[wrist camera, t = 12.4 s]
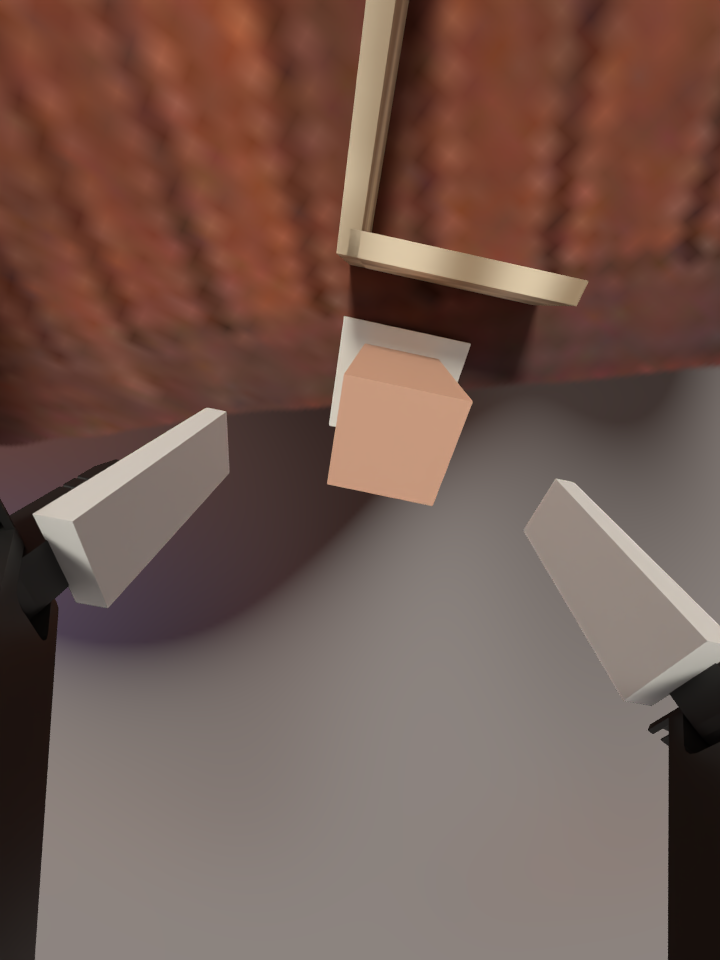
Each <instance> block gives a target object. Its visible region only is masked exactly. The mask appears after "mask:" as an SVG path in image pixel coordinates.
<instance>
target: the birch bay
mask: <svg viewBox="0 0 720 960" xmlns="http://www.w3.org/2000/svg"><path fill="white" fill-rule="evenodd" d="M408 4H409V0H366V6H365V14H364V23H363V32H362V40H361V49H360V57H359V66H358V74H357V83H356V91H355V100H354V108H353V117H352V125H351V134H350V142H349V151H348V160H347V168H346V177H345V185H344V194H343V202H342V211H341V219H340V228H339V236H338V245H337V254H338V255H339V256H340V257H342V258H343V259H344V260H345V261H346V262H347V263H348V264H350V265H354V266H358V267H363V268H367V269H372V270H376V271H381V272H385V273H390V274H394V275H399V276H403V277H408V278H413V279H417V280H422V281H426V282H431V283H435V284H440V285H444V286H449V287H453V288H458V289H462V290H467V291H472V292H476V293H481V294H485V295H490V296H494V297H499V298H503V299H508V300H512V301H517V302H522V303H526V304H531V305H549V306H577V304H578V302H579V300H580V297H581V295H582V293H583V291H584V289H585V287H586V285H587V283H588V281H586V280H582V279H577V278H573V277H568V276H564V275H559V274H555V273H550V272H546V271H541V270H537V269H532V268H528V267H523V266H519V265H514V264H510V263H505V262H501V261H496V260H492V259H487V258H483V257H478V256H474V255H469V254H465V253H460V252H456V251H451V250H447V249H442V248H438V247H433V246H429V245H424V244H420V243H415V242H411V241H406V240H402V239H397V238H393V237H388V236H384V235H379V234H375V233H372V227H373V221H374V215H375V209H376V202H377V196H378V190H379V184H380V178H381V171H382V165H383V159H384V153H385V147H386V140H387V134H388V128H389V122H390V116H391V109H392V103H393V97H394V91H395V85H396V78H397V72H398V66H399V60H400V54H401V47H402V41H403V35H404V29H405V23H406V17H407V10H408Z"/></svg>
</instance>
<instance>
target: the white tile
mask: <svg viewBox="0 0 720 960" xmlns="http://www.w3.org/2000/svg"><path fill="white" fill-rule="evenodd" d="M365 343H366V344H371V345H375V346H380V347H385V348H389V349H394V350H398V351H403V352H408V353H412V354H417V355H422V356H426V357H431V358H435V359H439V360H440V362H441V363H442V364H443V365H444V367H445V368H446V369H447V370H448V372H449V373H450V374H451V375H452V376H453V378H454V379H455V380H456V381H457V383H458V380H459V377H460V374H461V371H462V368H463V366H464V363H465V360H466V357H467V354H468V351H469V348H470V345H471V344H470V343H467V342H463V341H458V340H454V339H449V338H444V337H440V336H435V335H431V334H426V333H421V332H417V331H412V330H408V329H403V328H398V327H394V326H389V325H385V324H380V323H375V322H371V321H366V320H362V319H357V318H353V317H348V316H344V321H343V328H342V336H341V343H340V350H339V357H338V364H337V371H336V378H335V385H334V393H333V400H332V407H331V415H330V422H329V426H334V427H336V423H337V416H338V410H339V403H340V397H341V390H342V384H343V377H344V373H345V372H346V370H347V369H348V367H349V366H350V364H351V363H352V362H353V360H354V359H355V357H356V356H357V354H358V353H359V351H360V350H361V348H362V347H363V345H364V344H365Z"/></svg>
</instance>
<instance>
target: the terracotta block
mask: <svg viewBox="0 0 720 960" xmlns="http://www.w3.org/2000/svg"><path fill="white" fill-rule="evenodd" d="M472 403H473V401H472V400H471V399H470V398H469V396H468V395H467V394H466V393H465V391H464V390H463V389H462V388H461V386H460V385H459V384H458V383H457V381H456V380H455V379H454V378H453V376H452V375H451V374H450V373H449V372H448V370H447V369H446V368H445V367H444V365H443V364H442V363H441V362H440V360H439V359H435V358H431V357H426V356H422V355H417V354H412V353H408V352H403V351H398V350H394V349H389V348H385V347H380V346H375V345H371V344H366V343H365V344H364V345H363V347H362V348H361V350H360V351H359V353H358V354H357V356H356V357H355V359H354V360H353V362H352V363H351V364H350V366H349V367H348V369H347V370H346V372H345V373H344V377H343V384H342V390H341V397H340V403H339V410H338V416H337V423H336V429H335V436H334V443H333V449H332V455H331V462H330V469H329V475H328V482H327V484H329V485H334V486H339V487H343V488H348V489H353V490H358V491H363V492H367V493H372V494H377V495H382V496H387V497H391V498H396V499H401V500H406V501H410V502H415V503H420V504H425V505H429V506H433V503H434V500H435V498H436V496H437V493H438V490H439V488H440V485H441V482H442V480H443V478H444V475H445V472H446V470H447V467H448V465H449V462H450V459H451V457H452V454H453V451H454V449H455V446H456V444H457V441H458V439H459V436H460V434H461V431H462V428H463V426H464V423H465V420H466V418H467V415H468V413H469V410H470V408H471V405H472Z"/></svg>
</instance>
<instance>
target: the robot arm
mask: <svg viewBox="0 0 720 960" xmlns="http://www.w3.org/2000/svg"><path fill="white" fill-rule="evenodd" d="M228 474H229V454H228V435H227V414H226V411H221V410H216V409H211V408H205V409H203V410H202V411H200V412H198V413H197V414H195V415H194V416H192V417H190V418H189V419H187V420H185V421H184V422H182V423H180V424H179V425H177V426H176V427H174V428H172V429H171V430H169V431H167V432H166V433H164V434H163V435H161V436H159V437H158V438H156V439H154V440H153V441H151V442H149V443H148V444H146V445H144V446H143V447H141V448H140V449H138V450H136V451H135V452H133V453H131V454H130V455H128V456H126V457H125V458H123V459H122V460H113V461H110V462H107V463H103V464H100V465H97V466H94V467H93V468H91V469H89V470H87V471H86V472H84V473H82V474H81V475H79V476H78V478H74V479H72V480H70V481H69V482H67V483H65V484H64V486H63V487H58V488H56V489H55V490H53V491H51V492H49V493H48V494H46V495H44V496H43V497H41V498H39V499H37V500H36V501H34V502H32V503H30V504H29V505H27V506H25V507H24V508H22V509H20V510H18V511H17V512H15V513H13V514H11V515H10V516H9V514H8V512H7V510H6V508H5V507H4V505H3V503H2V501H1V499H0V960H35V945H36V932H37V916H38V902H39V887H40V873H41V872H40V871H41V857H42V842H43V828H44V813H45V799H46V785H47V770H48V754H49V741H50V726H51V725H50V724H51V711H52V696H53V682H54V667H55V652H56V638H57V623H58V605H57V602H56V600H55V598H56V597H57V596H58V595H59V594H60V593H62V591H64V590H65V589H66V588H67V587H69V589H70V591H71V593H72V595H73V597H74V599H75V601H76V602H77V603H82V604H88V605H93V606H99V607H104V608H109V606H110V605H111V604H112V603H113V602H114V601H115V600H116V598H117V597H118V596H119V595H120V594H121V593H122V592H123V591H124V590H125V589H126V587H127V586H128V585H129V584H130V583H131V582H132V581H133V580H134V579H135V577H136V576H137V575H138V574H139V573H140V571H142V569H143V568H144V567H145V566H146V565H147V564H148V563H149V562H150V561H151V560H152V558H153V557H154V556H155V555H156V554H157V553H158V552H159V551H160V549H161V548H162V547H163V546H164V545H165V544H166V543H167V542H168V541H169V540H170V538H171V537H172V536H173V535H174V534H175V533H176V532H177V531H178V529H179V528H180V527H181V526H182V525H183V524H184V523H185V522H186V521H187V519H188V518H189V517H190V516H191V515H192V514H193V513H194V511H196V509H197V508H198V507H199V506H200V505H201V504H202V503H203V501H204V500H205V499H206V498H207V497H208V496H209V495H210V494H211V493H212V492H213V490H214V489H215V488H216V487H217V486H218V485H219V484H220V483H221V481H222V480H223V479H224V478H225V477H226V476H227V475H228ZM523 531H524V533H525V534H526V536H527V538H528V540H529V541H530V543H531V545H532V546H533V548H534V550H535V551H536V553H537V555H538V557H539V558H540V560H541V562H542V563H543V565H544V567H545V568H546V570H547V572H548V574H549V575H550V577H551V578H552V580H553V582H554V584H555V586H556V587H557V589H558V590H559V592H560V594H561V596H562V597H563V599H564V601H565V602H566V604H567V606H568V608H569V609H570V611H571V613H572V614H573V616H574V618H575V619H576V621H577V623H578V625H579V626H580V628H581V629H582V631H583V633H584V635H585V637H586V638H587V640H588V642H589V643H590V645H591V647H592V648H593V650H594V652H595V654H596V655H597V657H598V659H599V660H600V662H601V664H602V665H603V667H604V669H605V670H606V672H607V674H608V676H609V677H610V679H611V681H612V683H613V684H614V686H615V687H616V689H617V691H618V693H619V694H620V696H621V698H622V699H623V701H627V702H633V703H638V704H643V705H649V706H652V705H654V704H656V703H657V702H659V701H660V700H662V699H663V698H665V697H666V696H668V695H669V694H670V695H671V696H672V698H673V700H674V701H675V702H676V704H677V705H678V706H679V707H678V708H677V709H675V710H673V711H672V712H670V713H669V714H667V715H665V716H663V717H662V718H660V719H659V720H657V721H655V722H654V723H652V724H650V726H649V728H648V731H650V732H651V733H652V734H654V733H656V732H657V731H659V730H661V729H665V730H667V731H669V735H667V736H665V737H664V738H662V739H661V740H662V741H663V742H664V743H665V744H667V745H668V746H669V839H668V840H669V841H668V842H669V843H668V844H669V848H668V852H669V854H668V855H669V856H668V865H669V866H668V960H720V626H719V625H718V624H717V623H716V622H715V621H714V620H713V619H712V618H711V617H710V616H709V615H708V614H707V613H706V612H705V611H704V610H703V609H702V608H701V607H700V606H699V605H698V604H697V603H696V602H695V601H694V600H693V599H692V598H691V597H690V596H689V595H688V594H687V593H686V592H685V591H684V590H683V589H682V588H681V587H680V586H679V585H678V584H676V582H675V581H674V580H672V578H671V577H670V576H669V575H668V574H667V573H666V572H664V571H663V570H662V569H661V568H660V567H659V566H658V565H657V564H656V563H655V562H654V561H653V560H652V559H651V558H650V557H649V556H648V555H647V554H646V553H645V552H644V551H643V550H642V549H641V548H640V547H639V546H638V545H637V544H636V543H635V542H634V541H633V540H632V539H631V538H630V537H629V536H628V535H627V534H626V533H625V532H624V531H623V530H622V529H621V528H620V527H619V526H618V525H617V524H616V523H615V522H614V521H613V520H612V519H611V518H610V517H609V516H608V515H607V514H606V513H605V512H604V511H602V509H600V507H598V506H597V505H596V504H595V503H594V502H593V501H592V500H591V499H590V498H589V497H588V496H587V495H586V494H585V493H584V492H583V491H582V490H581V489H580V488H579V487H578V486H577V485H576V484H575V483H574V482H570V481H565V480H560V479H555V480H554V482H553V483H552V485H551V486H550V488H549V490H548V491H547V493H546V495H545V496H544V498H543V499H542V501H541V503H540V504H539V506H538V507H537V509H536V511H535V512H534V514H533V515H532V517H531V519H530V520H529V522H528V523H527V525H526V527H525V528H524V530H523Z"/></svg>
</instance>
